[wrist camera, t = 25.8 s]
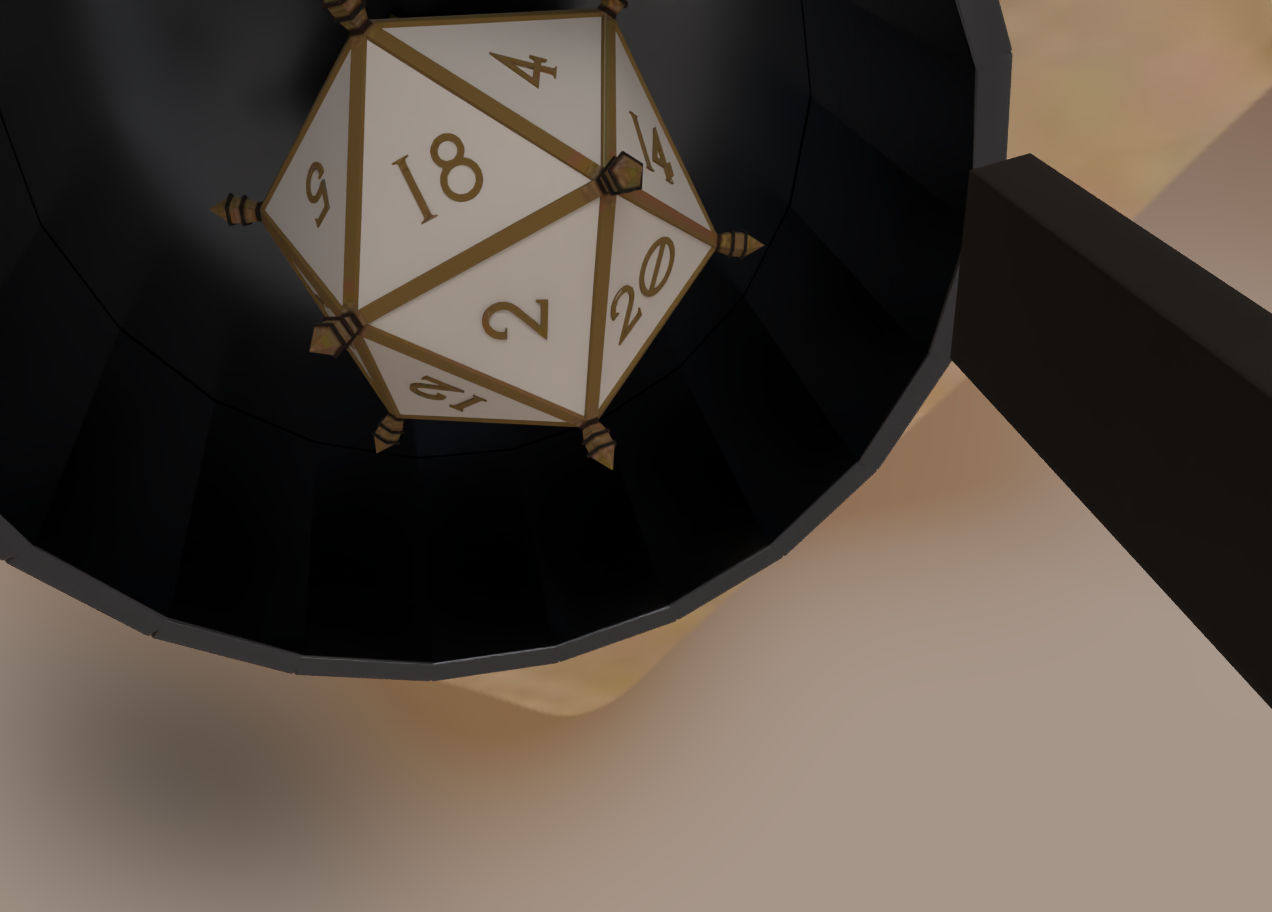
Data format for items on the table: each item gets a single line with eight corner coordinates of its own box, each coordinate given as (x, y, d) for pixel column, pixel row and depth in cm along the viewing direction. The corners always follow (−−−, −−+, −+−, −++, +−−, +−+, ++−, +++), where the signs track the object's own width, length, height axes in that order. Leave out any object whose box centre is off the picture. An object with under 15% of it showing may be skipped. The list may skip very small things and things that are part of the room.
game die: (464, 7, 21) (730, -264, 12) (633, 324, 24) (941, 283, 15) (97, 178, 17) (109, -40, 8) (351, 527, 20) (548, 624, 11)
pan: (-171, 250, 18) (-416, 493, 12) (235, -810, 11) (114, -1353, 6) (532, 540, 27) (578, 749, 22) (965, 62, 21) (1188, 183, 15)
